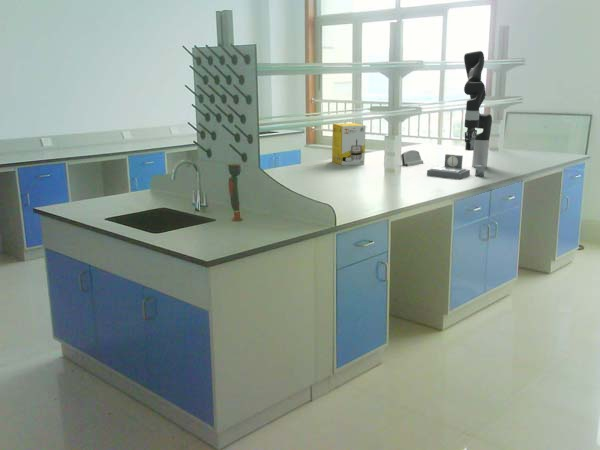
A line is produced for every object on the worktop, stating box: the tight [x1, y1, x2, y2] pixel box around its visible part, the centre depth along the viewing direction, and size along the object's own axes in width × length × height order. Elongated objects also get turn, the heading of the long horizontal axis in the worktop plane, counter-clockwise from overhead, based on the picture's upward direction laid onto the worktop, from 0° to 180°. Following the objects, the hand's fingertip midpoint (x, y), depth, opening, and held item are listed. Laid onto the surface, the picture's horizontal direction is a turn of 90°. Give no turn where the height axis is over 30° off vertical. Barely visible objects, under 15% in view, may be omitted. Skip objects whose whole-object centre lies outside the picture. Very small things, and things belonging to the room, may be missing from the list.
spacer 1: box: [464, 139, 475, 151], centre depth 338 cm, size 5×5×6 cm
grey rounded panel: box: [400, 149, 424, 167], centre depth 392 cm, size 17×5×10 cm, turn 132°
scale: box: [426, 153, 471, 180], centre depth 353 cm, size 16×20×11 cm
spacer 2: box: [474, 165, 486, 178], centre depth 351 cm, size 5×5×6 cm
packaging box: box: [331, 122, 366, 166], centre depth 394 cm, size 16×16×25 cm
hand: (469, 149), depth 339 cm, fingers closed on spacer 1, 5 cm apart
